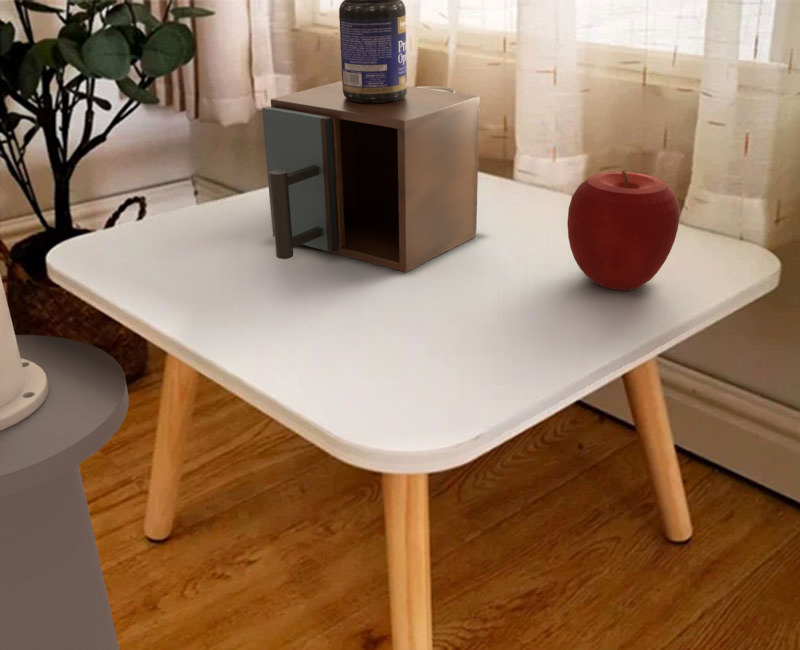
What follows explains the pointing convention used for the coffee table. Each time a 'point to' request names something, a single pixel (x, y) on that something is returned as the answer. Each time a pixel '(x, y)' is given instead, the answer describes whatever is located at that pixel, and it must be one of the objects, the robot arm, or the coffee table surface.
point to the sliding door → (300, 180)
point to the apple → (622, 227)
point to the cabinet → (400, 171)
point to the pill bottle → (373, 50)
